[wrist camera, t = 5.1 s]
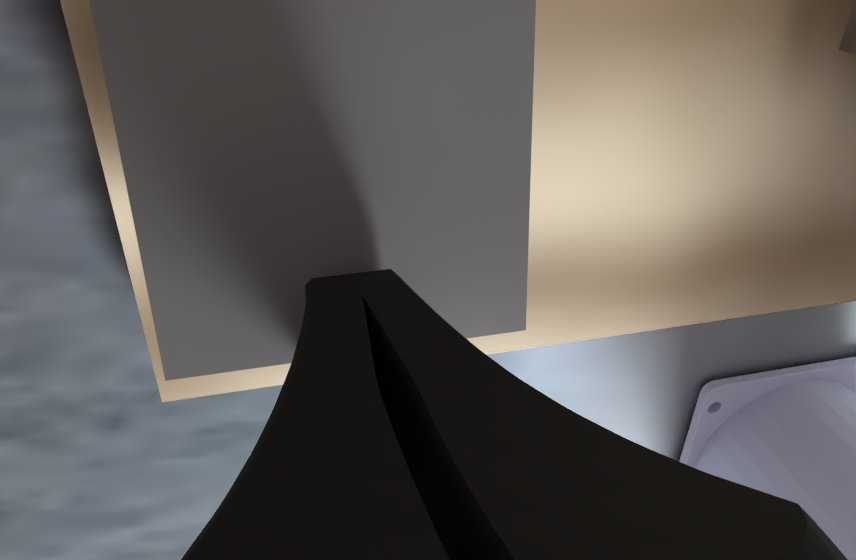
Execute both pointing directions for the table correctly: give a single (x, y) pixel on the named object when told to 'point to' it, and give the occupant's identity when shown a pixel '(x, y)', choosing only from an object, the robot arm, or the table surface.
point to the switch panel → (641, 169)
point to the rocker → (319, 161)
